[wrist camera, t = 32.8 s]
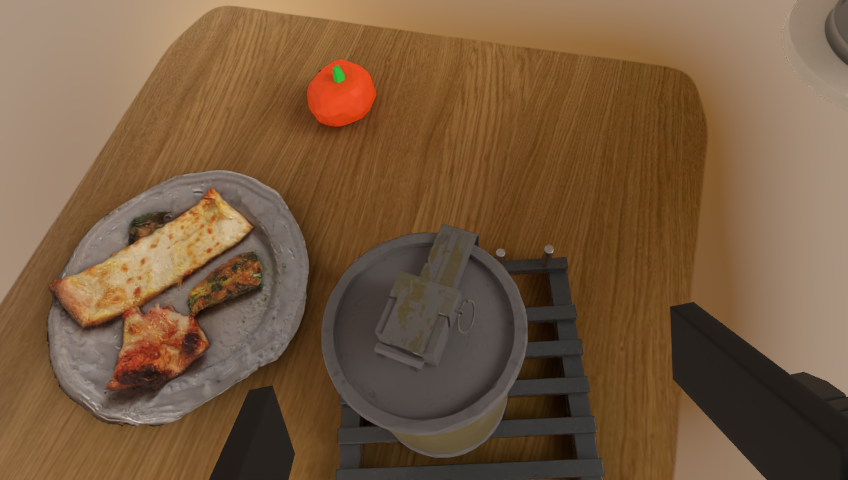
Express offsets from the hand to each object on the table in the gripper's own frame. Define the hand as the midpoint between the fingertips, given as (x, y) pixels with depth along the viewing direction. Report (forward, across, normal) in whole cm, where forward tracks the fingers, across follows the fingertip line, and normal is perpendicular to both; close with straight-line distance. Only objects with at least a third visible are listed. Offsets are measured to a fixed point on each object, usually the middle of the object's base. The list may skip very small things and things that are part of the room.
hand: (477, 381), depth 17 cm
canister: (+21, -2, -14) cm, 26 cm away
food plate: (+33, -24, -6) cm, 41 cm away
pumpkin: (+46, -6, +7) cm, 47 cm away
